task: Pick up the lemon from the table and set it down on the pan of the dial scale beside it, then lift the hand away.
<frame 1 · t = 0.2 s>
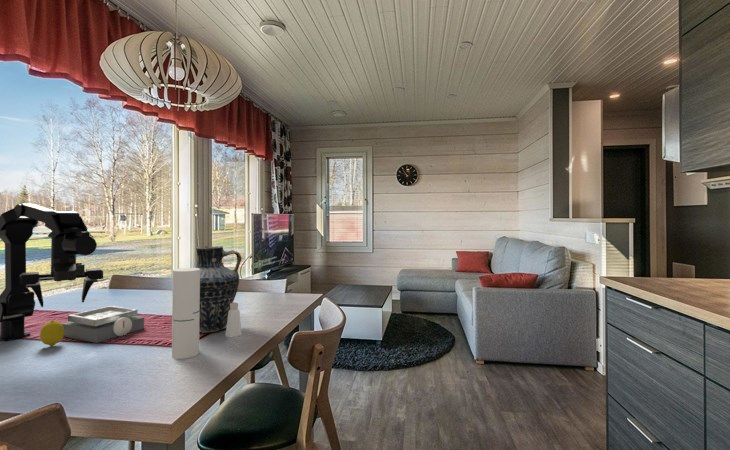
hand: (63, 304, 105), 13 cm above the table, tool pointing down, fingers open, 9 cm apart
scale: (103, 331, 121), on the table
jug: (210, 329, 126), on the table
lemon: (52, 347, 107), on the table
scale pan: (103, 315, 121), point 6 cm above the table, slide at 0.0 cm
pepper shaker: (233, 335, 120), on the table
cylindrical container: (185, 354, 102), on the table
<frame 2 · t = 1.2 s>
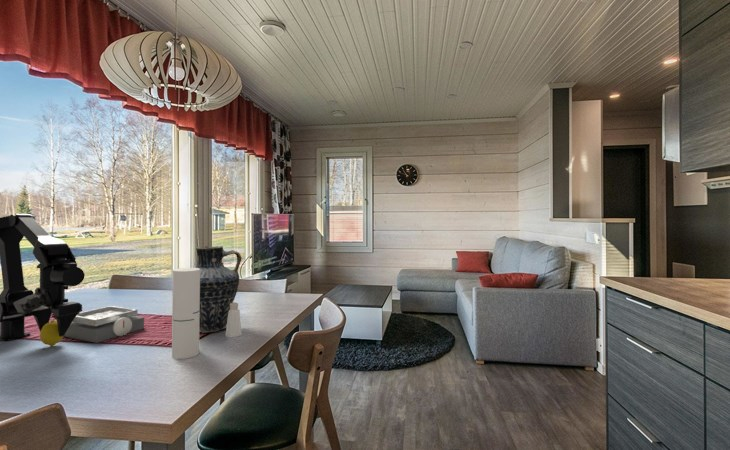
hand: (52, 334, 107), 4 cm above the table, tool pointing down, fingers open, 9 cm apart
nothing on the table moved.
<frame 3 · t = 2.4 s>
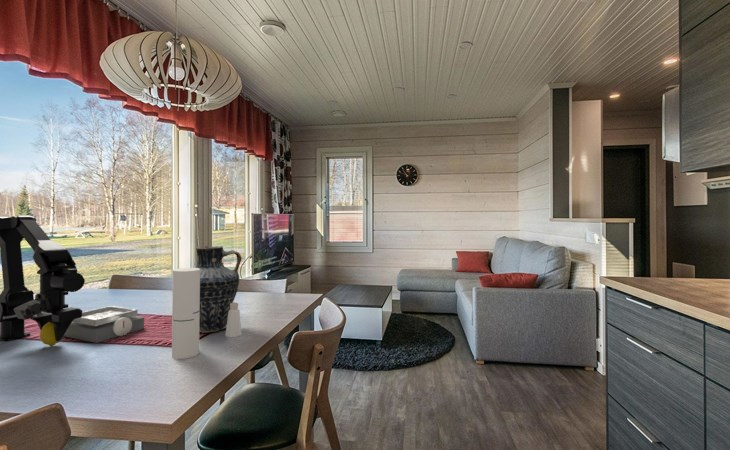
hand: (52, 339, 107), 2 cm above the table, tool pointing down, fingers closed on lemon, 5 cm apart
lemon: (52, 346, 107), on the table, touching gripper
everything else where it was.
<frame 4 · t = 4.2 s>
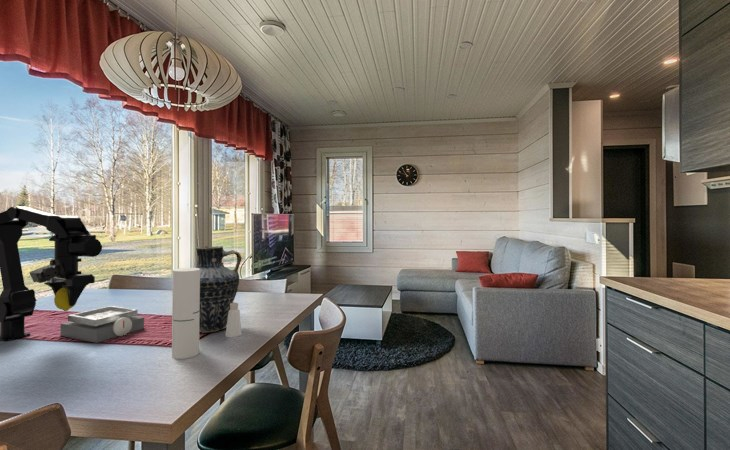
hand: (66, 304, 110), 12 cm above the table, tool pointing down, fingers closed on lemon, 5 cm apart
lemon: (65, 312, 110), point 10 cm above the table, touching gripper
everything else where it was.
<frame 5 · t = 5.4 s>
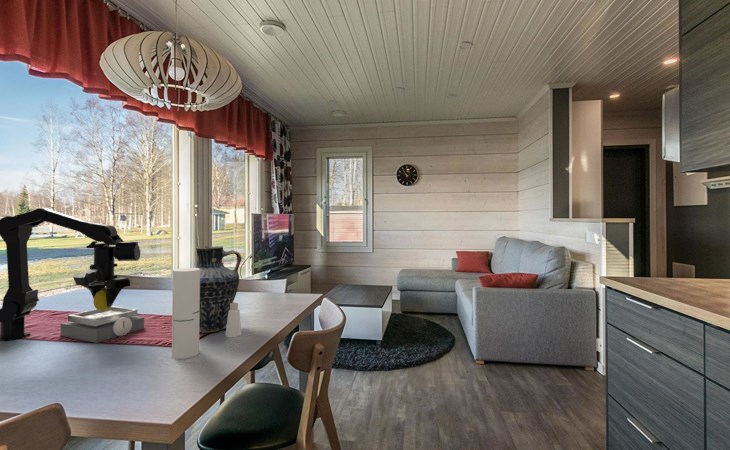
hand: (103, 305, 121), 9 cm above the table, tool pointing down, fingers closed on lemon, 5 cm apart
lemon: (103, 312, 121), point 7 cm above the table, touching gripper
everything else where it was.
when the fingers open (9 cm above the table, at t = 6.2 s): lemon drops 2 cm, resting on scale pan.
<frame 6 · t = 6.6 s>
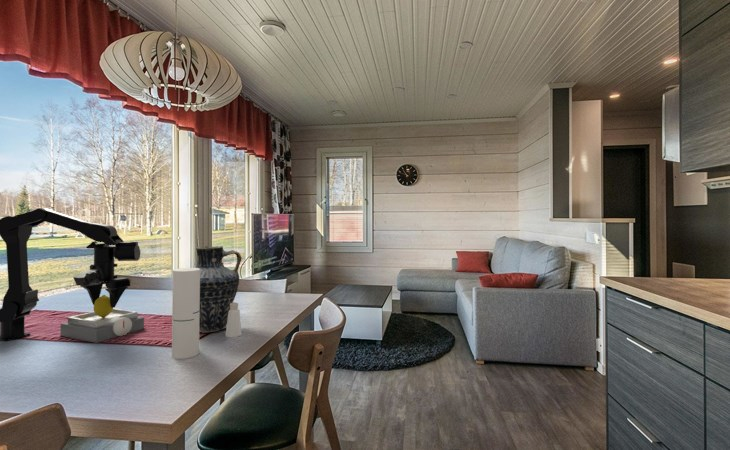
hand: (103, 306, 121), 9 cm above the table, tool pointing down, fingers open, 9 cm apart
lemon: (103, 318, 121), point 5 cm above the table, touching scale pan
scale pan: (103, 317, 121), point 5 cm above the table, slide at -0.7 cm, touching lemon
everything else where it was.
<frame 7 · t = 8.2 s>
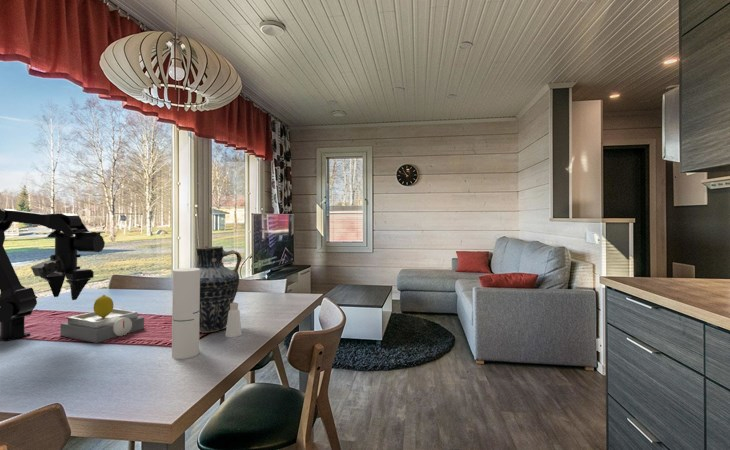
hand: (65, 298, 115), 13 cm above the table, tool pointing down, fingers open, 9 cm apart
nothing on the table moved.
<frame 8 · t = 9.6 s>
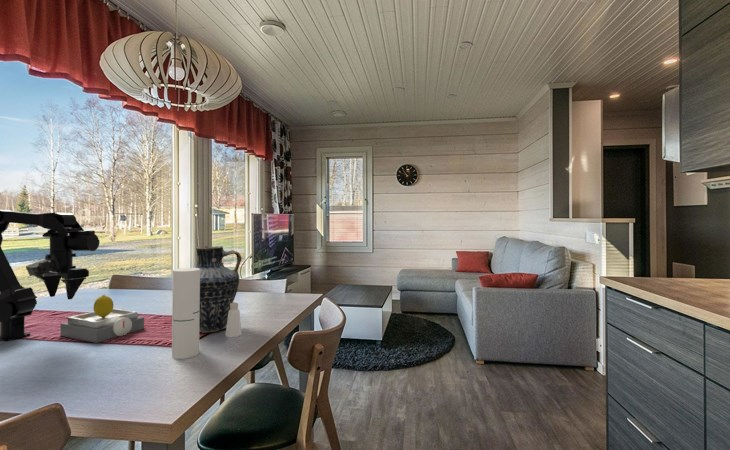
hand: (61, 297, 115), 13 cm above the table, tool pointing down, fingers open, 9 cm apart
nothing on the table moved.
at the end: lemon inside the target area on the scale (0.1 cm from its centre), point 4.7 cm above the scale's base; lemon touching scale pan; the gripper is holding nothing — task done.
